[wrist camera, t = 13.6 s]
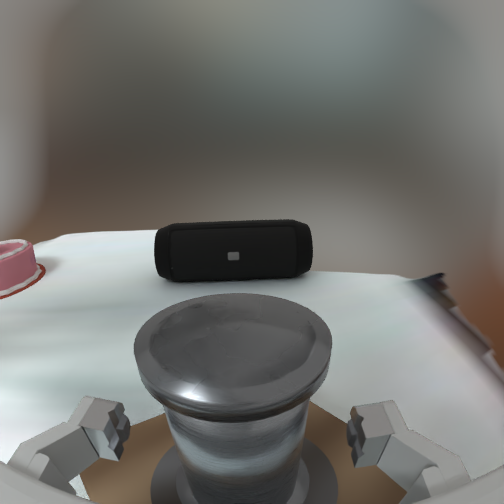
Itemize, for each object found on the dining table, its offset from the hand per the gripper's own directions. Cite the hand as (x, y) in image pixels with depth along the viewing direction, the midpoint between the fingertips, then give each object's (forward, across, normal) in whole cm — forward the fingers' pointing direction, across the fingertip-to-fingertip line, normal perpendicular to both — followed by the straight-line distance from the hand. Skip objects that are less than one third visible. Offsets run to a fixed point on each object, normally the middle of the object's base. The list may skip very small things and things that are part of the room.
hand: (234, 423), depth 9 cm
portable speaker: (+43, +3, +12) cm, 45 cm away
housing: (+1, 0, +7) cm, 7 cm away
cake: (+38, +56, +12) cm, 69 cm away
